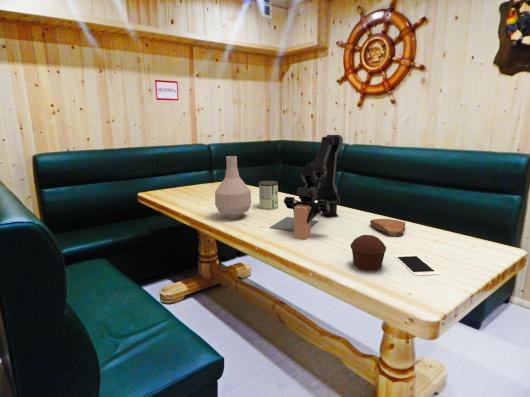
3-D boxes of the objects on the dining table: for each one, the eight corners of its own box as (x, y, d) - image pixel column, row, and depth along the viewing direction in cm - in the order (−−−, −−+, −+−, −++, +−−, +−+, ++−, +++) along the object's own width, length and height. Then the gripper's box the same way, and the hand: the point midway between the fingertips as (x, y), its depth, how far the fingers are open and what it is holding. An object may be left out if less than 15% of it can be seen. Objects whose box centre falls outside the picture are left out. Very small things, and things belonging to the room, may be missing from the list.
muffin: (391, 272, 112) (393, 242, 110) (356, 274, 111) (358, 243, 109) (376, 257, 124) (378, 230, 121) (345, 259, 123) (346, 231, 120)
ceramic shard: (367, 223, 146) (370, 218, 160) (369, 238, 147) (371, 232, 161) (406, 221, 141) (404, 216, 155) (407, 237, 141) (406, 231, 156)
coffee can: (260, 205, 199) (259, 180, 196) (278, 205, 198) (278, 180, 195) (258, 210, 189) (257, 184, 186) (277, 210, 188) (277, 184, 185)
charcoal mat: (286, 217, 174) (286, 216, 174) (318, 221, 166) (318, 220, 166) (270, 228, 158) (270, 227, 158) (303, 232, 151) (303, 231, 151)
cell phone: (414, 277, 109) (415, 275, 109) (393, 257, 125) (393, 255, 125) (439, 275, 110) (439, 274, 110) (415, 256, 125) (415, 254, 125)
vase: (209, 216, 179) (206, 156, 172) (239, 210, 189) (237, 153, 182) (227, 224, 165) (224, 159, 158) (258, 217, 175) (257, 156, 168)
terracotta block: (298, 234, 149) (299, 204, 146) (310, 236, 147) (310, 205, 144) (294, 238, 145) (294, 207, 142) (305, 239, 143) (305, 208, 140)
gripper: (285, 177, 148) (273, 209, 141) (328, 180, 140) (318, 214, 133) (292, 192, 157) (282, 223, 150) (334, 196, 148) (324, 228, 141)
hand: (301, 222), depth 143 cm, fingers closed on terracotta block, 5 cm apart
